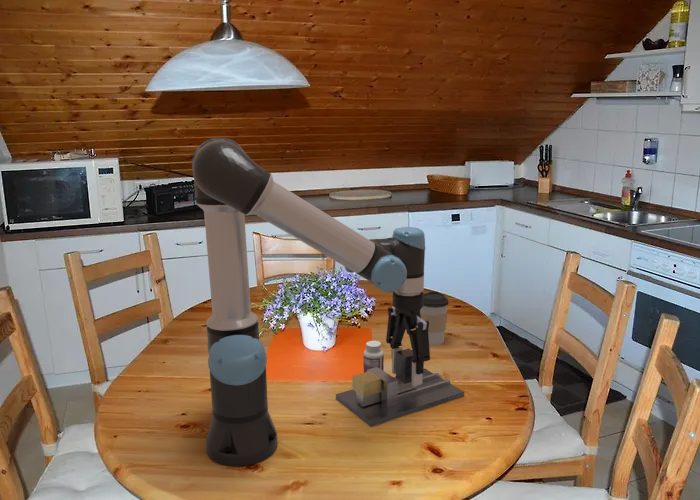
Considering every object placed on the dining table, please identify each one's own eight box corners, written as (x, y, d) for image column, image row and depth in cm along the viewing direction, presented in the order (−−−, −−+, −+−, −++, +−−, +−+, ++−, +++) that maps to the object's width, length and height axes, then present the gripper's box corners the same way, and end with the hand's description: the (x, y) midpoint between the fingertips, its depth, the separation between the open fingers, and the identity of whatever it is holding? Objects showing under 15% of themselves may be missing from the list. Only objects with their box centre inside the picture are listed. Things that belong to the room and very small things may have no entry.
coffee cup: (447, 347, 184) (448, 300, 180) (417, 345, 185) (417, 298, 182) (447, 336, 193) (448, 290, 189) (418, 334, 194) (419, 289, 190)
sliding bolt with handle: (408, 384, 157) (408, 348, 155) (417, 390, 154) (418, 353, 151) (355, 400, 149) (355, 362, 147) (364, 407, 146) (364, 368, 143)
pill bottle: (371, 370, 169) (371, 337, 166) (387, 376, 166) (387, 342, 163) (359, 377, 165) (359, 344, 162) (375, 383, 161) (375, 348, 159)
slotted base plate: (424, 372, 167) (425, 346, 166) (464, 395, 154) (465, 368, 152) (335, 398, 153) (335, 370, 151) (371, 426, 140) (371, 396, 138)
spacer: (363, 397, 144) (363, 383, 143) (352, 389, 148) (352, 375, 148) (381, 392, 147) (381, 378, 146) (369, 384, 151) (369, 371, 150)
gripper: (447, 300, 141) (444, 390, 147) (396, 278, 158) (395, 360, 164) (422, 305, 138) (420, 398, 143) (371, 283, 155) (371, 367, 160)
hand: (406, 378), depth 154 cm, fingers open, 8 cm apart
